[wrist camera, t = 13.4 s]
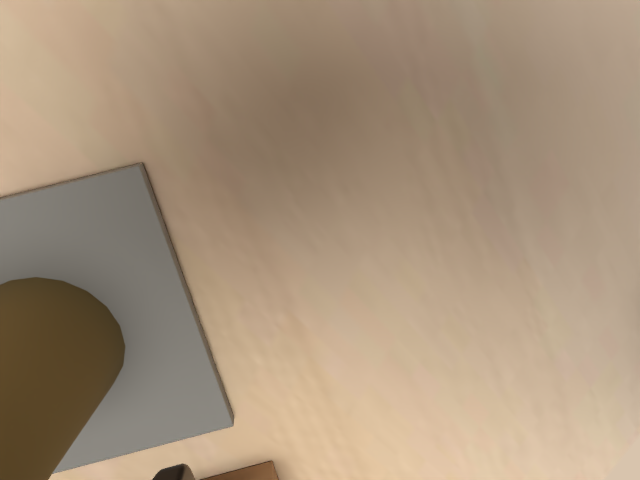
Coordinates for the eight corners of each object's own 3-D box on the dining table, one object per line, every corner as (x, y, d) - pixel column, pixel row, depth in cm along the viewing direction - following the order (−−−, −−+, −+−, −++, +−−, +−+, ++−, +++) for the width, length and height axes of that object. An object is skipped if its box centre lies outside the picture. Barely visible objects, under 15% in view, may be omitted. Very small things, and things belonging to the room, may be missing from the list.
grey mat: (142, 162, 19) (138, 166, 18) (233, 417, 23) (233, 426, 23) (-183, 243, 18) (-198, 249, 18) (-28, 485, 23) (-36, 496, 22)
